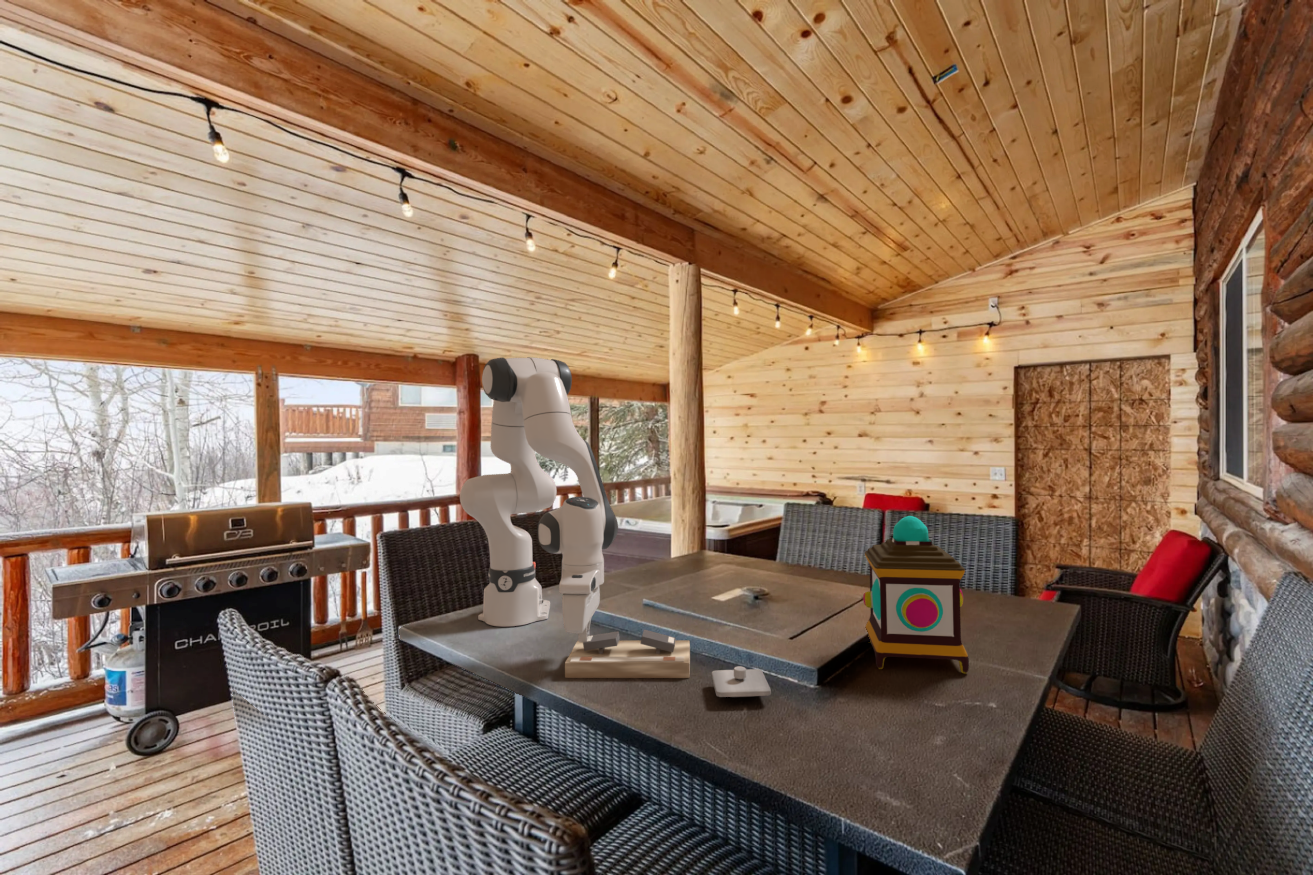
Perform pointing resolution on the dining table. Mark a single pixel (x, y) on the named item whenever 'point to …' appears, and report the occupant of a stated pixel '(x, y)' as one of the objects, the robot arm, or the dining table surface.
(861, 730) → the dining table surface
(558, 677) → the dining table surface
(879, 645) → the decorative lantern
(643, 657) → the switch panel
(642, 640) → the plate
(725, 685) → the light switch
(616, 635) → the plate
